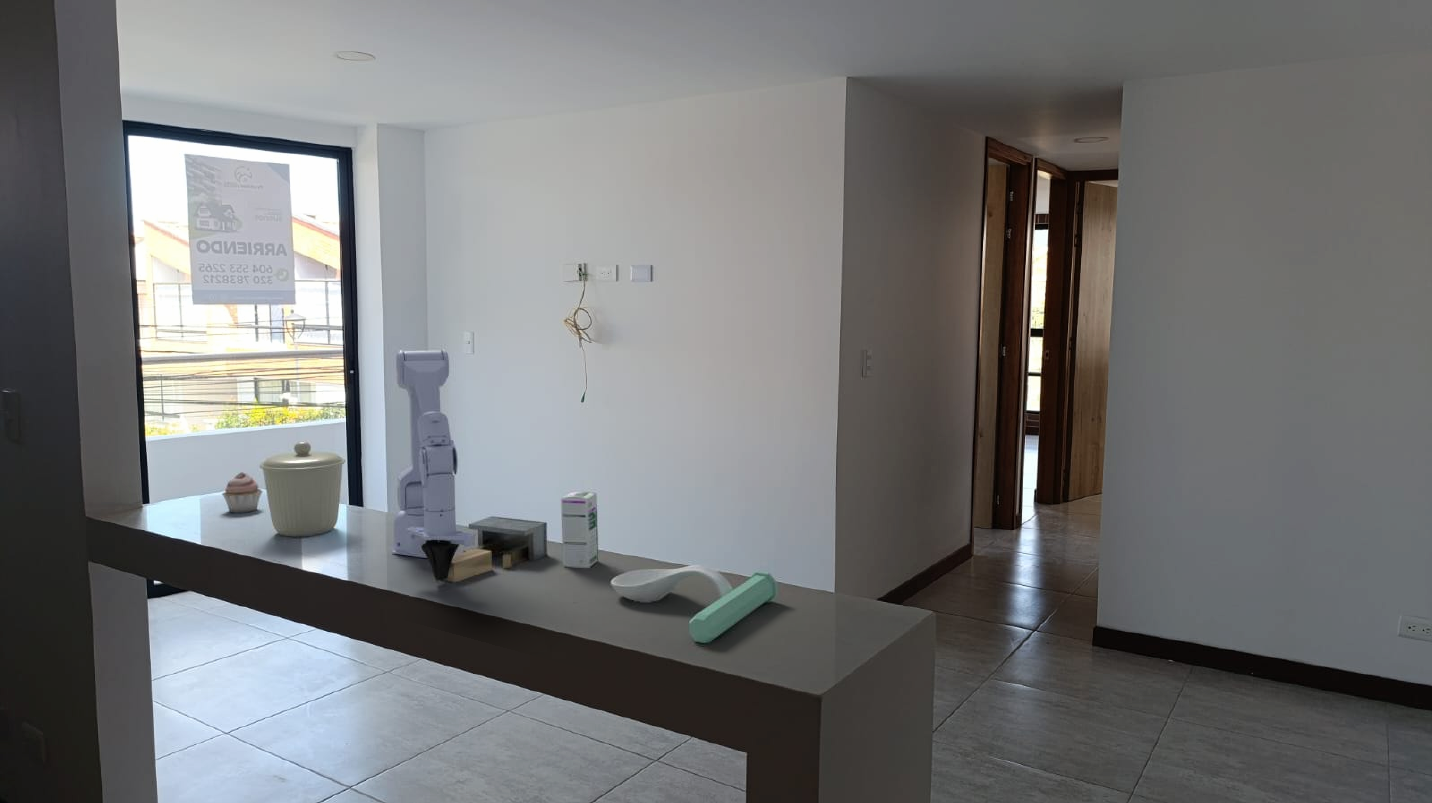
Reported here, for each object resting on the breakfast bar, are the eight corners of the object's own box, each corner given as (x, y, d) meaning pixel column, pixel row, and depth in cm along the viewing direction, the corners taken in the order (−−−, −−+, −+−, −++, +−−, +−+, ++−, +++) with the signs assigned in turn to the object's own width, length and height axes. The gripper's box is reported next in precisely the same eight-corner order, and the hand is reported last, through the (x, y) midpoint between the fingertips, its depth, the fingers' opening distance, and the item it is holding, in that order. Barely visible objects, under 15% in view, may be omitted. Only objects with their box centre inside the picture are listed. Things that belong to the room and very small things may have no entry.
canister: (356, 534, 216) (353, 443, 214) (270, 545, 206) (265, 450, 204) (337, 519, 231) (334, 434, 229) (256, 529, 221) (252, 440, 219)
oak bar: (439, 580, 182) (439, 560, 182) (477, 567, 191) (476, 548, 191) (454, 583, 180) (454, 563, 180) (491, 570, 189) (491, 551, 189)
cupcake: (221, 516, 234) (218, 476, 233) (224, 508, 243) (222, 470, 242) (262, 512, 238) (260, 473, 237) (264, 505, 247) (262, 467, 246)
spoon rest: (598, 602, 170) (598, 563, 169) (632, 585, 180) (632, 548, 179) (717, 622, 159) (717, 580, 159) (745, 602, 170) (746, 563, 169)
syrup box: (589, 568, 190) (588, 497, 188) (561, 566, 191) (560, 496, 190) (598, 561, 195) (598, 492, 194) (571, 559, 197) (570, 490, 195)
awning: (456, 561, 194) (455, 528, 194) (492, 547, 205) (492, 516, 205) (513, 569, 189) (512, 535, 188) (547, 554, 200) (546, 522, 199)
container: (706, 609, 147) (771, 567, 169) (676, 618, 150) (744, 575, 172) (719, 645, 147) (783, 598, 169) (689, 653, 149) (755, 606, 171)
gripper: (394, 509, 177) (396, 580, 178) (456, 516, 171) (458, 589, 172) (420, 502, 183) (422, 570, 185) (481, 508, 177) (482, 579, 179)
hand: (441, 579), depth 179 cm, fingers closed
